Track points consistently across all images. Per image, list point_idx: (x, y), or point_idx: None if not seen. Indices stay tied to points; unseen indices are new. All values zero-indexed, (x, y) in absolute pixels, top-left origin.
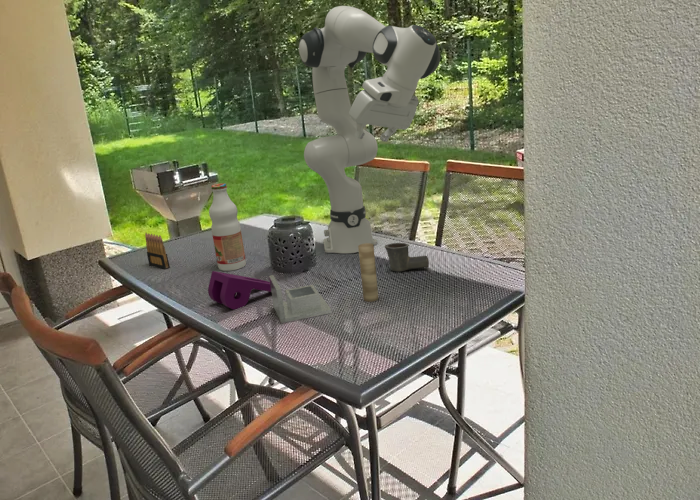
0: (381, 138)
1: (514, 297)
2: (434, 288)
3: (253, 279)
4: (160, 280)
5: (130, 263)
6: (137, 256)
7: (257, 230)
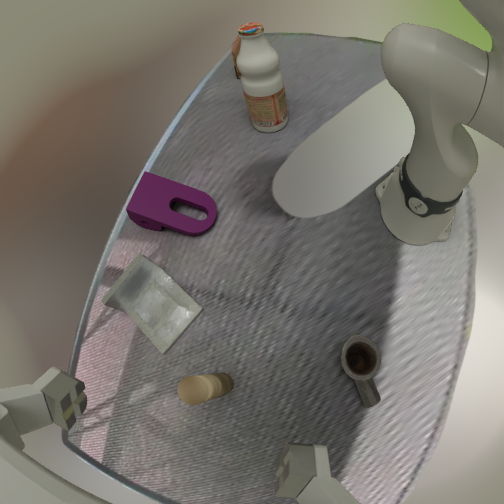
0: (284, 455)
1: None
2: None
3: (190, 201)
4: (207, 98)
5: None
6: None
7: None
